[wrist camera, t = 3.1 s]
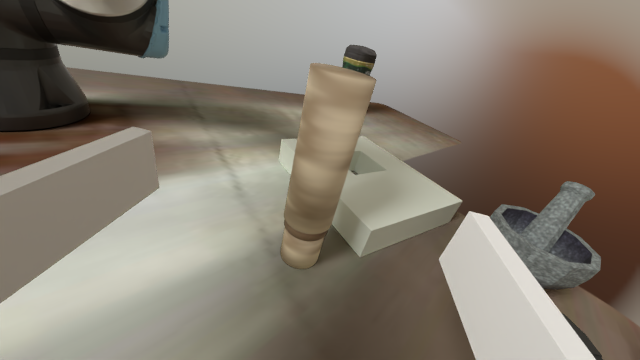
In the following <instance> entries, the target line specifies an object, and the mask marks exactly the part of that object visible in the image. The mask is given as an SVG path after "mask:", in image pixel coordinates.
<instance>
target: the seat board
mask: <svg viewBox="0 0 640 360" xmlns="http://www.w3.org/2000/svg"><path fill="white" fill-rule="evenodd" d="M296 143H297V139H282V140H281V147H280V154H279V162H280V163H281V164H282V166H283V167H284V168H285V169H286V170H287V171H288V173H289V174H290V175H291V172H292V166H293V160H294V155H295V149H296ZM351 171H355V172H356V173H358V175H355V174H353V173H352V172H351ZM461 203H462V200H460V199H459V198H457V197H456V196H454V195H453V194H451V193H450V192H448V191H447V190H445V189H444V188H442V187H441V186H439V185H438V184H436V183H435V182H433V181H432V180H430V179H428V178H427V177H425V176H424V175H422V174H421V173H419V172H417V171H416V170H415V169H413V168H412V167H410V166H409V165H407V164H405V163H404V162H403V161H401V160H399V159H398V158H396V157H395V156H393V155H392V154H390V153H389V152H387V151H386V150H384V149H383V148H381V147H380V146H378V145H377V144H375V143H374V142H372V141H371V140H369V139H367V138H366V137H364V136H359V138H358V141H357V144H356V147H355V151H354V154H353V157H352V160H351V164H350V167H349V170H348V173H347V176H346V180H345V183H344V186H343V189H342V192H341V196H340V199H339V202H338V205H337V208H336V212H335V215H334V218H333V221H332V225H333V226H334V227H335V229H336V230H337V231H338V232H339V233H340V234H341V236H342V237H343V238H344V239H345V240H346V242H347V243H348V244H349V245H350V246H351V248H352V249H353V250H354V251H355V252H356V253H357V255H358V256H359V257H362V256H365V255H368V254H370V253H373V252H375V251H378V250H380V249H383V248H385V247H388V246H390V245H393V244H395V243H398V242H401V241H403V240H406V239H408V238H411V237H413V236H416V235H418V234H421V233H423V232H426V231H429V230H431V229H434V228H436V227H439V226H441V225H444V224H446V223H449V222H450V221H451V219H452V217H453V216H454V214H455V213H456V211H457V209H458V208H459V206H460V205H461Z"/></svg>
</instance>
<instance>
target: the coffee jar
mask: <svg viewBox="0 0 640 360" xmlns="http://www.w3.org/2000/svg"><path fill="white" fill-rule="evenodd" d="M375 59H376V53H375V51H374V50H372V49H369V48H367V47H364V46H358V45H349V46H348V47H347V48H346V51H345V54H344V58H343V67H342V68H346V69H350V70H353V71H357V72H360V73H363V74H366V75H368V76H370V72H371V70H372V68H373V66H374V63H375Z"/></svg>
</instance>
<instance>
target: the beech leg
mask: <svg viewBox="0 0 640 360" xmlns="http://www.w3.org/2000/svg"><path fill="white" fill-rule="evenodd" d="M375 83H376V79H375V78H373V77H371V76H368V75H366V74H363V73H360V72H357V71H353V70H350V69H346V68H342V67H337V66H333V65H327V64H320V63H311V64H310V71H309V76H308V82H307V87H306V93H305V98H304V104H303V110H302V115H301V121H300V126H299V132H298V138H297V143H296V149H295V155H294V160H293V166H292V172H291V177H290V183H289V189H288V194H287V200H286V206H285V211H284V218H285V220H284V225H285V229H284V235H283V240H282V245H281V251H280V254H281V257H282V259H283V261H284V262H285V263H286V264H287V265H289V266H291V267H293V268H297V269H306V268H309V267H311V266H313V265H314V264H315V263H316V262H317V260H318V256H319V253H320V250H321V247H322V243H323V240H324V237H325V235H326V234H327V232H328V229H329V228H330V227H331V224H332V221H333V218H334V215H335V212H336V208H337V205H338V202H339V199H340V196H341V192H342V189H343V186H344V183H345V180H346V176H347V173H348V170H349V167H350V164H351V160H352V157H353V154H354V151H355V147H356V144H357V141H358V138H359V135H360V131H361V128H362V125H363V122H364V119H365V115H366V112H367V109H368V106H369V103H370V99H371V95H372V93H373V90H374V86H375Z"/></svg>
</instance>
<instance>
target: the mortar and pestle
mask: <svg viewBox="0 0 640 360" xmlns="http://www.w3.org/2000/svg"><path fill="white" fill-rule="evenodd" d="M594 195H595V193H593V191H592V190H591V189H590V188H588V187H586V186H584V185H582V184H578V183H576V182H565V183H564V184H563V185H562V186H561V187H560V193H558V195H557V196H556V197H555V198H554V199H553V200H552V201H551V202H550V203H549V204H548V205H547V206H546V207H545V208H544V209H543V210H542V211H541V212H540V213H539V214H538V213H535V212H533V211H531V210H528V209H526V208H523V207H517V206H510V205H504V204H502V205H501V206H500V207H499V208H497V210H495V211H494V213H493V214H492V215H491V217H490V219H491V220H492V221H493V223H494V224H495V225H496V227H497V228H498V229H499V231H500V232H501V233H502V235H503V236H504V237H505V239H506V240H507V241H508V243H509V244H510V245H511V247H512V248H513V249H514V251H515V252H516V253H517V255H518V256H519V257H520V259H521V260H522V261H523V263H524V264H525V265H526V267H527V268H528V270H529V271H530V272H531V274H532V275H533V276H534V278H535V279H536V280H537V282H538V283H539V284H540V286H541V287H542V288H545V289H557V290H558V289H565V288H573V287H576V286H578V285H580V284H581V283H584V282H585V281H587V280H589V279H590V278H592V277H593V276H594V275H595V274H596V273H598V272H599V271H600V264H601V257H600V256H599V255H598V254H597V253H596V252H595V251H594V250H593V249H592V248H591V247H590V246H589V245H588V244H587V243H586V242H585V241H584V240H583V239H582V238H581V237H579V236H578V235H576V234H574V233H573V232H571V231H570V230H568V229H567V226H568V225H569V224H570V222H571V221H572V219H573V218H574V217H575V215H576V214H577V212H578V211H579V210H580V208H581V207H582V206H583V204H584V203H585V201H588V200H590V199H592V198H593V197H594Z"/></svg>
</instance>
